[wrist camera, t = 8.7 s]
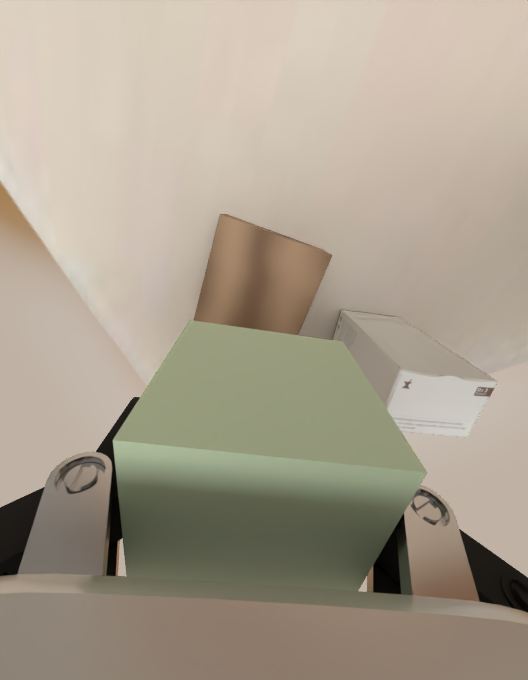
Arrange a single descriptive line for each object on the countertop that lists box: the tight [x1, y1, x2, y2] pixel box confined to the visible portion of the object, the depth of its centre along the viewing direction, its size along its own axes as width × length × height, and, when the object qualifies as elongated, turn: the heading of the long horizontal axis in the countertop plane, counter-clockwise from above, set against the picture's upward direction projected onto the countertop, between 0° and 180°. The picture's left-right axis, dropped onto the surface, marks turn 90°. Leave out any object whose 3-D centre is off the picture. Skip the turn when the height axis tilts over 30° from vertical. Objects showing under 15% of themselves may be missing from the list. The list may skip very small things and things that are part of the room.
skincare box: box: [333, 310, 497, 437], centre depth 28 cm, size 8×6×15 cm
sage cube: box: [113, 320, 427, 591], centre depth 9 cm, size 6×6×6 cm
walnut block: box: [194, 214, 332, 335], centre depth 30 cm, size 11×11×5 cm
